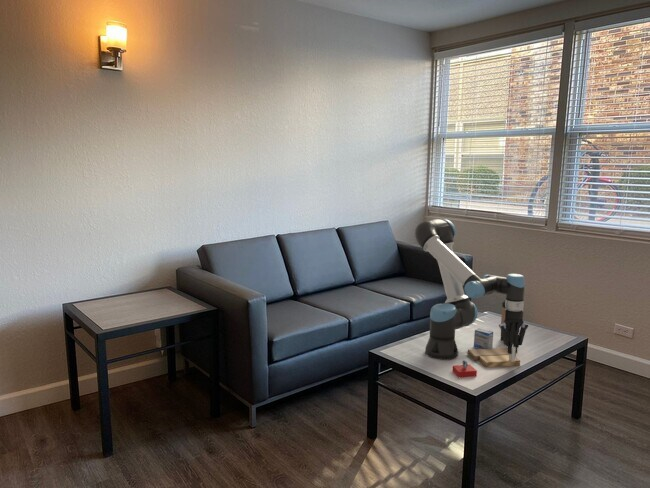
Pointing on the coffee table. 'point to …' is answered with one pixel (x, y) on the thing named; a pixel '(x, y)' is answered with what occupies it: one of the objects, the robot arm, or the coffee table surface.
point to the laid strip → (487, 352)
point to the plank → (498, 361)
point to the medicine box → (483, 339)
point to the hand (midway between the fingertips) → (511, 360)
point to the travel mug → (503, 317)
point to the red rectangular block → (464, 370)
